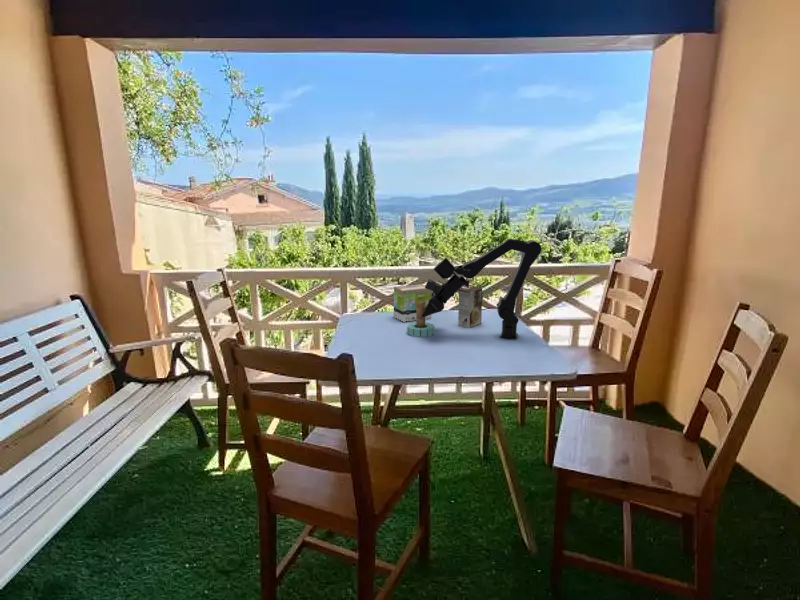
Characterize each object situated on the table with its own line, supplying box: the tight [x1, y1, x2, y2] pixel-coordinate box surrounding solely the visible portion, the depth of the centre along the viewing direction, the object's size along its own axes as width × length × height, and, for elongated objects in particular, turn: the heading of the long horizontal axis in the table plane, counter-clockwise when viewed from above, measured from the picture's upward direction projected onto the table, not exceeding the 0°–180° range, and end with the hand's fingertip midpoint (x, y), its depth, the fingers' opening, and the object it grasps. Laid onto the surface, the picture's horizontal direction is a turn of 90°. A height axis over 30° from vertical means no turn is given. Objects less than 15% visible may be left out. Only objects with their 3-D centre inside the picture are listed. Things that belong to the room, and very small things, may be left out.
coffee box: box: [457, 285, 483, 328], centre depth 198 cm, size 9×6×16 cm
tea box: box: [393, 283, 433, 323], centre depth 210 cm, size 15×10×15 cm, turn 118°
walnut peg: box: [415, 301, 426, 328], centre depth 187 cm, size 4×4×13 cm
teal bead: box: [406, 321, 436, 338], centre depth 188 cm, size 11×11×3 cm
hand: (423, 313), depth 186 cm, fingers open, 9 cm apart
